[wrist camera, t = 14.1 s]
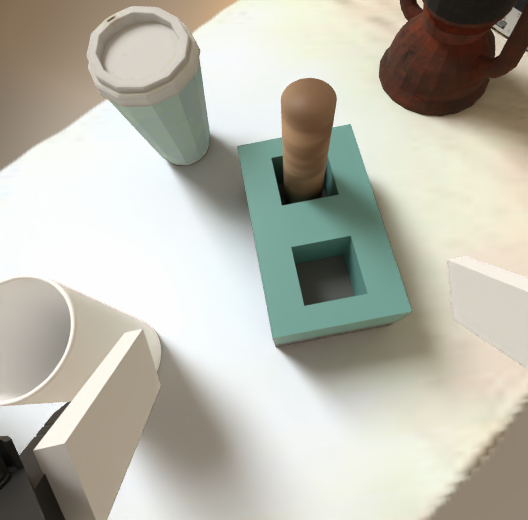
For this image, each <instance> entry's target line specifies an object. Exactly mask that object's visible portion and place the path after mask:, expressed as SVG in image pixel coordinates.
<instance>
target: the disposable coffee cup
mask: <svg viewBox="0 0 528 520" xmlns="http://www.w3.org/2000/svg"><path fill="white" fill-rule="evenodd" d="M199 55H200V49H199V47H198V45H197V43H196V41H195V39H194V37H193V36H192V34H191V32H190V31H189V29H188V27H187V26H186V24H184V23H182V22H180V20H179V18H177V17H175V16H173V15H171V14H170V13H168V12H166V11H164V10H162V9H160V8H158V7H140V6H131V7H129V8H127V9H124V10H122V11H120V12H118V13H115V14H113V15H111V16H110V17H109V18H107V19H105V20H104V21H103V22H102V23H101V24H100V25H99V26H98V28H96V29H95V30H94V32H92V33H91V37H90V42H89V47H88V51H87V59H88V61H89V65H88V69H89V71H90V73H91V76H92V78H93V81H94V83H95V85H96V87H97V90H98V92H99V94H100V95H101V96H103V97H104V98H106V99H108V100H109V101H110V102H111V103H112V104H113V105H114V106H115V107H116V108H117V109H118V110H119V111H120V112H121V114H122V115H123V116H124V117H125V118H126V119H127V120H128V121H129V122H130V123H131V124H132V125H133V126H134V127H135V129H136V130H137V131H138V132H139V133H140V134H141V135H142V136H143V137H144V138H145V139H146V140H147V141H148V142H149V143H150V145H151V146H152V147H153V148H154V149H155V150H156V151H157V152H158V153H159V154H160V155H161V156H162V157H163V158H164V159H166V160H168V161H170V162H171V163H173V164H175V165H190V164H192V163H194V162H196V161H199V160H200V159H201V158H202V157H203V156H204V154H205V153H206V152H207V151H208V147H209V139H210V132H209V124H208V117H207V110H206V103H205V96H204V89H203V81H202V74H201V67H200V60H199Z"/></svg>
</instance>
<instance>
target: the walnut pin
mask: <svg viewBox="0 0 528 520" xmlns="http://www.w3.org/2000/svg"><path fill="white" fill-rule="evenodd" d="M336 101H337V98H336V93H335V91H334V90H333V88H332V87H331V86H330V85H329V84H327V83H326V82H324V81H322V80H319V79H314V78H305V79H300V80H297V81H295V82H293V83H291V84H290V85H289V86H287V88H286V89H285V90H284V92H283V94H282V97H281V114H282V144H283V174H284V203H285V205H288V204H293V203H298V202H303V201H308V200H313V199H319V198H321V195H322V189H323V182H324V176H325V170H326V164H327V157H328V151H329V145H330V139H331V133H332V126H333V120H334V114H335V108H336Z"/></svg>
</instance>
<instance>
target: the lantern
mask: <svg viewBox="0 0 528 520" xmlns="http://www.w3.org/2000/svg"><path fill="white" fill-rule="evenodd" d="M422 1H423V3H424V7H423V9H422V8H420V7H419V5H418V4H417V1H416V0H400V5H401V10H402V12H403V14H404V16H405V18H406V19H407V20H408V22H407V23H406V24H405V25H404V26H403V27H402V28H401V29H400V31H399V32H398V33H397V35H396V36H395V38H394V40H393V42H392V44H391V46H390V47H389V48H388V49H387V50H386V51H385V53H384V55H383V57H382V59H381V61H380V69H379V78H380V81H381V84H382V87H383V89H384V91H385V92H386V93H387V94H388V95H389V97H390V98H391V99H392V100H393V101H395V102H396V103H398V104H399V105H401V106H402V107H404V108H405V109H408V110H411V111H414V112H417V113H420V114H424V115H437V116H442V115H447V114H453V113H458V112H460V111H462V110H464V109H466V108H468V107H470V106H472V105H473V104H474V103H475V102H476V101H477V100H478V99H479V98H480V97H481V96H482V95H483V93H484V92H485V89H486V87H487V84H488V82H489V78H496V77H499V76H502V75H505V74H507V73H508V72H509V71H511V70H512V69H513V68H515V67H516V66H517V64H518V63H519V61H520V59H521V58H522V56H523V54H524V53H525V51H526V49H527V48H528V3H527V4H526V6H525V8H524V10H523V12H522V14H521V16H520V18H519V19H518V21H517V23H516V25H515V27H514V29H513V31H512V32H511V34H510V36H509V38H508V40H507V42H506V44H505V46H504V47H503V49H502V51H501V53H500V55H499V56H497V57H495V36H494V34H493V33H492V31H491V28H492V27H493V26H494V25H495V24H496V23H497V22H498V21H500V20H502V19H503V18H504V17H505V16H506V15H507V14H508V13H509V12H510V11H511V10H512V8H513V6H514V5H515V4H516V2H517V1H518V0H422ZM494 57H495V58H494Z"/></svg>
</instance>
